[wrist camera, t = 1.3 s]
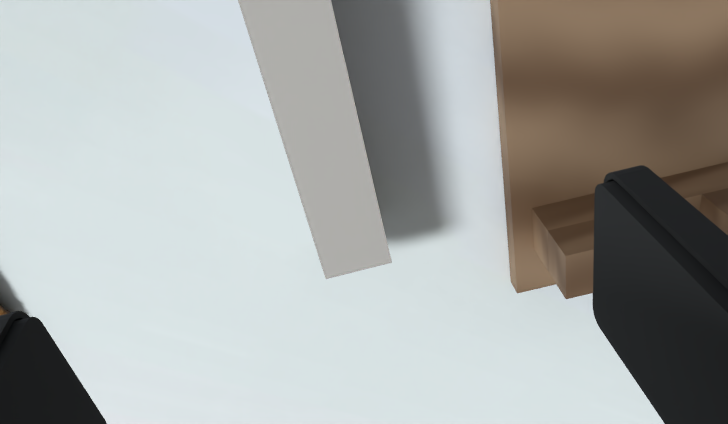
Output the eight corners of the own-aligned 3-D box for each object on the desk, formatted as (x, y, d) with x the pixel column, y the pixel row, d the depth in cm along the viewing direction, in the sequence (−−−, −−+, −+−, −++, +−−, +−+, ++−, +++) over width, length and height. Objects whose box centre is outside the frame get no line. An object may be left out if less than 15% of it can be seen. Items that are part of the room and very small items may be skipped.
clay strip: (166, -275, 19) (144, -300, 16) (257, -298, 19) (254, -327, 16) (319, 229, 30) (325, 279, 27) (378, 214, 30) (391, 262, 27)
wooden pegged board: (475, -195, 21) (526, -203, 17) (807, -271, 21) (940, -298, 17) (511, 281, 33) (546, 346, 29) (723, 231, 33) (789, 289, 29)
